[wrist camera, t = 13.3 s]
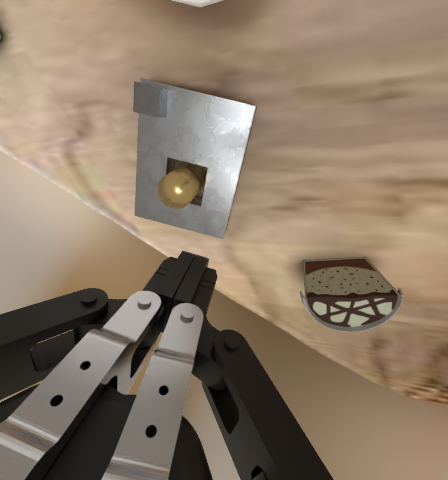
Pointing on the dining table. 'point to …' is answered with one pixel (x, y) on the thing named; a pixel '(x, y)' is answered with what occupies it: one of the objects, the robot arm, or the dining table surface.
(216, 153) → the plate
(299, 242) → the dining table surface
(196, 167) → the gold peg
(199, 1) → the white basin
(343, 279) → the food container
